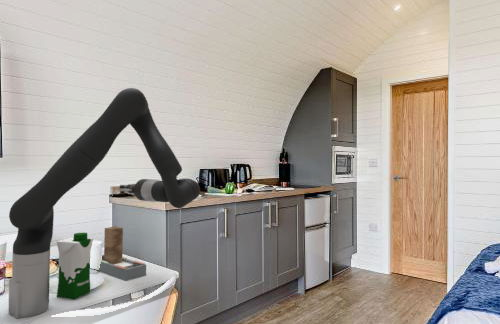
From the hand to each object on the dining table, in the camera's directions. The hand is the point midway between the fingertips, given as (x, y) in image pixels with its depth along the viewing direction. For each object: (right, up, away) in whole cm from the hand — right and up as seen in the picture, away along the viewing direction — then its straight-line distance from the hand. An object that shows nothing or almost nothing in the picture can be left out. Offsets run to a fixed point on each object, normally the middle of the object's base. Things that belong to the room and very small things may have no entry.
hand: (121, 187), depth 130 cm
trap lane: (-5, -34, +10) cm, 36 cm away
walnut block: (-7, -31, +11) cm, 34 cm away
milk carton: (-10, -34, -16) cm, 39 cm away
